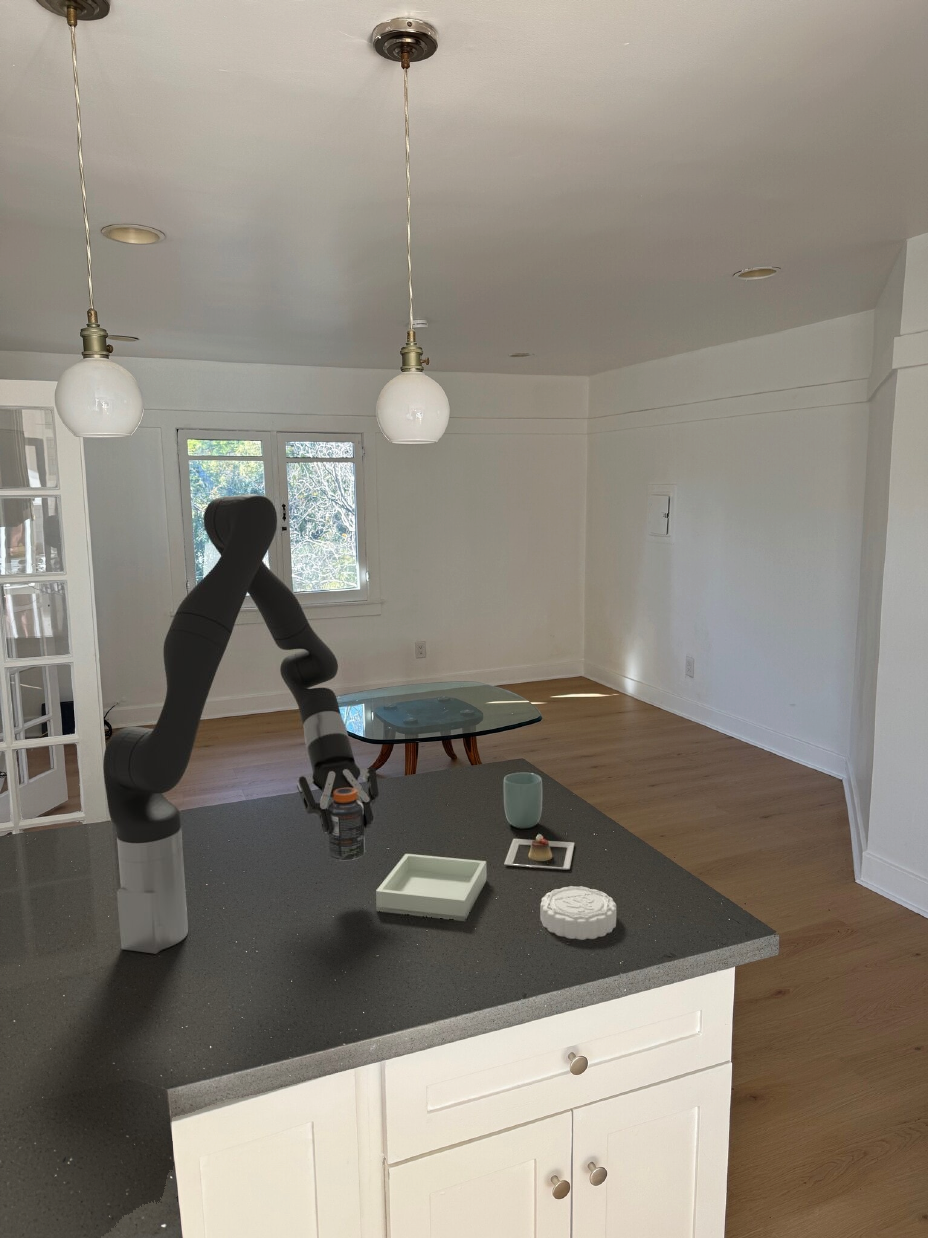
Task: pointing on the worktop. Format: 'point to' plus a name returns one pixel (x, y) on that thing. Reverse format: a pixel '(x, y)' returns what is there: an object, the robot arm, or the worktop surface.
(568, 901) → the mooncake
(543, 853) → the dessert
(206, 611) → the robot arm
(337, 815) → the pill bottle
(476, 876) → the tray
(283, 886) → the worktop surface
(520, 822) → the cup
